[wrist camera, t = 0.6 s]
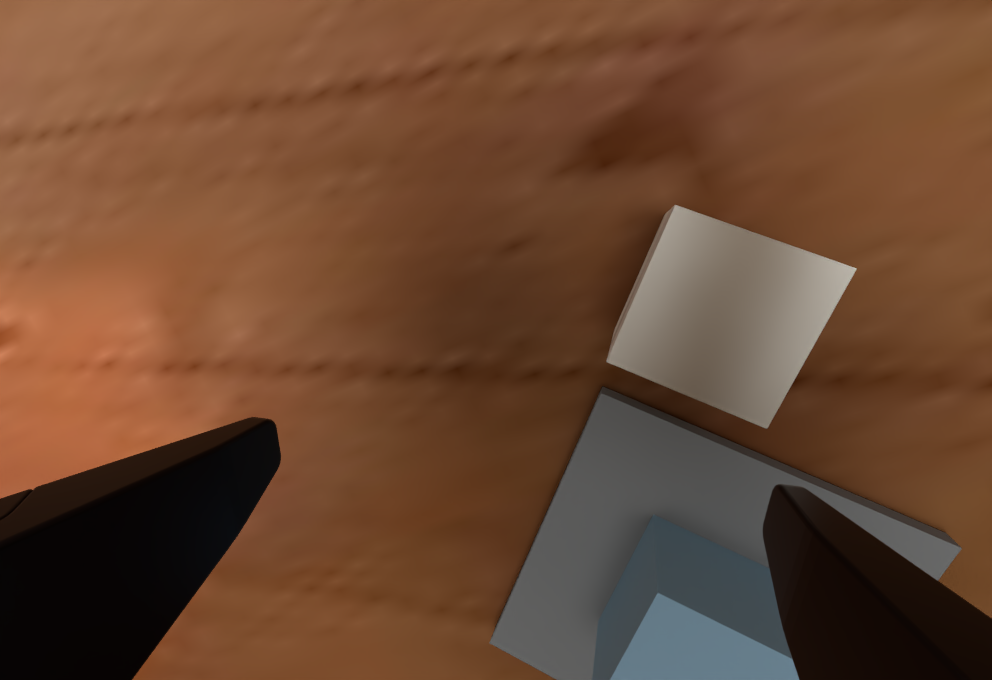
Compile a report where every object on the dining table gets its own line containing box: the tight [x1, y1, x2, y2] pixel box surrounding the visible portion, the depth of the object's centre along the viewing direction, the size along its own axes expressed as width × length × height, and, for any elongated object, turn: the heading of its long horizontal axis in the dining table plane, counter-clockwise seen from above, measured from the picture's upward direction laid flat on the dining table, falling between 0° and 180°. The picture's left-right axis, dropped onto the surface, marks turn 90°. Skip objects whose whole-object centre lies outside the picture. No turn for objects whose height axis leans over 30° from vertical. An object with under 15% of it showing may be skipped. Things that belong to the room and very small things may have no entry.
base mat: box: [490, 386, 962, 680], centre depth 22 cm, size 14×14×1 cm
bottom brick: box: [592, 514, 799, 680], centre depth 19 cm, size 6×6×5 cm
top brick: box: [606, 205, 857, 429], centre depth 17 cm, size 5×5×6 cm
